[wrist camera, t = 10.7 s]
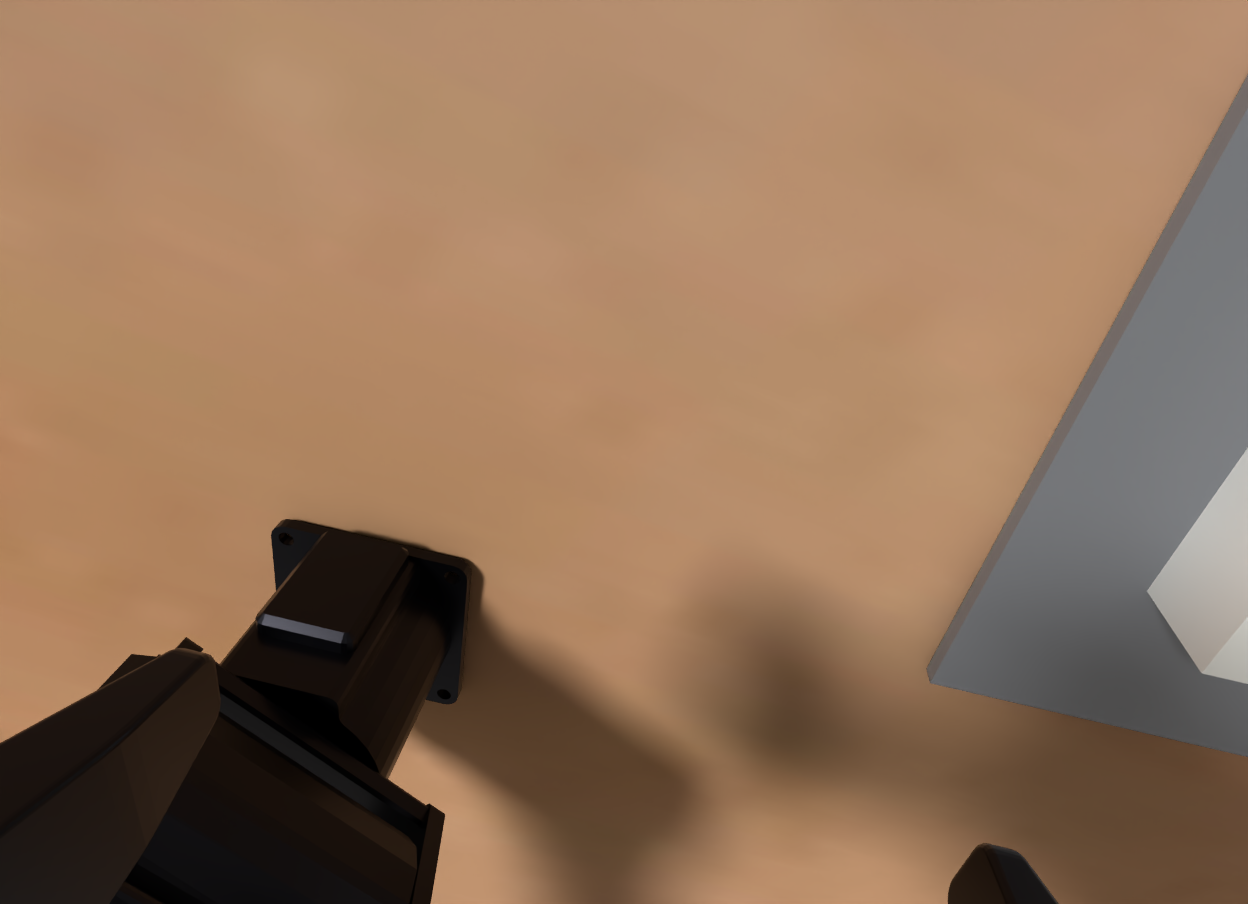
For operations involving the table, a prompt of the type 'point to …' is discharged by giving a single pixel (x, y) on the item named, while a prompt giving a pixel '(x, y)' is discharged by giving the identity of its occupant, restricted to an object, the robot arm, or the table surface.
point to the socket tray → (1138, 503)
